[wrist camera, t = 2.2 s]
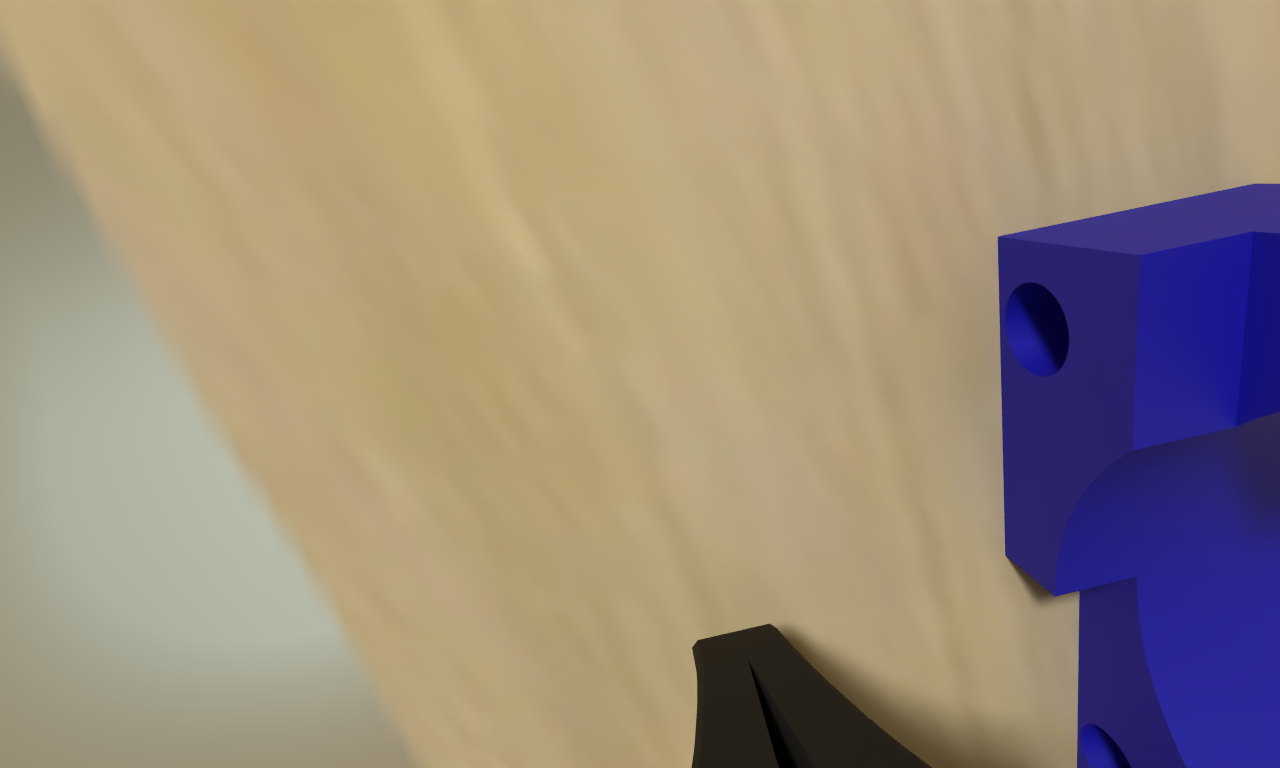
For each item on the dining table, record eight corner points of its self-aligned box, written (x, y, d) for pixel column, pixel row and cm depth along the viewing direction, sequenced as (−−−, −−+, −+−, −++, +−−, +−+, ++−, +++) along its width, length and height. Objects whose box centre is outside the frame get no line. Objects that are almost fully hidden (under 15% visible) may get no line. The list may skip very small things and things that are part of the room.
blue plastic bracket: (992, 235, 11) (1440, 293, 6) (1245, 183, 12) (1922, 188, 6) (1006, 789, 15) (1287, 1168, 9) (1199, 739, 15) (1589, 1080, 9)
